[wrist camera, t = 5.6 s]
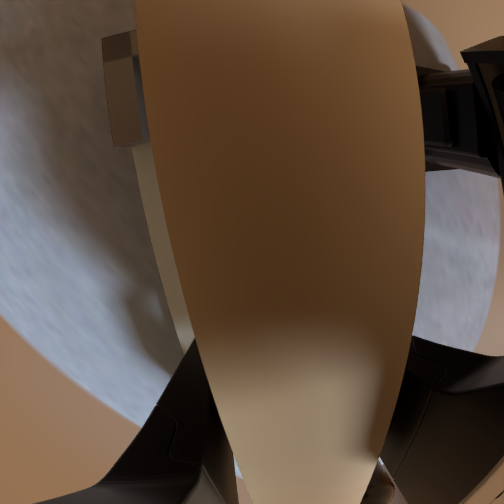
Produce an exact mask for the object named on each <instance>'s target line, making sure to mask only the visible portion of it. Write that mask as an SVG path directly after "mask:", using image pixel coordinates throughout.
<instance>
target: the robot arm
mask: <svg viewBox="0 0 504 504" xmlns="http://www.w3.org/2000/svg"><path fill="white" fill-rule="evenodd" d="M460 53H461V55H462V58H463V60H464V62H465V63H467V65H468V68H469V69H467V70H457V71H448V72H443V71H439V70H434V69H429V68H423V67H418V66H416V72H417V79H418V86H419V93H420V102H421V111H422V122H423V134H424V151H425V172H427V171H439V170H452V169H462V170H467V171H472V172H476V173H480V174H484V175H489V176H493V177H497V178H500V179H501V182H502V188H503V194H504V36H499V37H496V38H494V39H491V40H488V41H486V42H483V43H480V44H478V45H475V46H473V47H470V48H468V49H465V50H463V51H461V52H460ZM380 458H381V460H382V461H383V463H384V465H385V466H386V468H387V469H388V471H389V473H390V475H391V476H392V478H394V481H395V483H396V485H397V486H398V488H399V490H400V491H401V493H402V495H403V496H404V498H405V500H406V501H407V503H408V504H504V356H498V357H497V356H487V355H482V354H478V353H474V352H470V351H465V350H461V349H457V348H453V347H449V346H445V345H441V344H438V343H434V342H431V341H428V340H425V339H422V338H419V337H416V336H412V338H411V343H410V348H409V353H408V357H407V362H406V367H405V371H404V375H403V379H402V383H401V387H400V391H399V395H398V399H397V402H396V406H395V409H394V413H393V416H392V419H391V423H390V426H389V429H388V432H387V435H386V438H385V441H384V444H383V447H382V450H381V453H380ZM34 504H239V502H238V493H237V485H236V476H235V467H234V457H233V451H232V448H231V446H230V443H229V440H228V438H227V435H226V432H225V429H224V426H223V424H222V421H221V418H220V415H219V412H218V409H217V406H216V403H215V400H214V397H213V394H212V391H211V388H210V385H209V382H208V379H207V376H206V372H205V369H204V366H203V363H202V360H201V356H200V353H199V350H198V346H197V343H196V339H195V338H194V340H193V341H192V343H191V345H190V347H189V348H188V350H187V352H186V353H185V355H184V357H183V359H182V360H181V362H180V364H179V366H178V367H177V369H176V371H175V373H174V374H173V376H172V378H171V379H170V381H169V383H168V385H167V386H166V388H165V390H164V392H163V393H162V395H161V397H160V399H159V400H158V402H157V404H156V406H155V407H154V409H153V411H152V412H151V414H150V416H149V417H148V419H147V421H146V422H145V424H144V425H143V427H142V428H141V430H140V431H139V433H138V434H137V435H136V437H135V438H134V440H133V441H132V442H131V444H130V445H129V446H128V448H127V449H126V450H125V452H124V453H123V454H122V455H121V457H120V458H119V459H118V461H117V462H116V463H115V464H114V466H113V467H112V468H111V469H110V471H109V472H108V473H107V474H106V475H105V477H104V478H102V479H101V480H100V481H99V482H98V483H96V484H95V485H93V486H91V487H89V488H87V489H84V490H81V491H77V492H74V493H71V494H67V495H64V496H61V497H57V498H54V499H50V500H46V501H43V502H38V503H34Z"/></svg>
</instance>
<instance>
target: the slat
mask: <svg viewBox="0 0 504 504" xmlns="http://www.w3.org/2000/svg"><path fill="white" fill-rule="evenodd" d="M135 13H136V27H137V39H138V49H139V59H140V69H141V77H142V86H143V93H144V101H145V108H146V115H147V122H148V128H149V135H150V141H151V147H152V153H153V159H154V164H155V170H156V175H157V181H158V186H159V191H160V196H161V201H162V206H163V211H164V216H165V220H166V225H167V230H168V234H169V239H170V243H171V247H172V252H173V256H174V260H175V264H176V268H177V272H178V276H179V280H180V284H181V288H182V292H183V296H184V300H185V303H186V307H187V311H188V315H189V318H190V322H191V325H192V329H193V332H194V336H195V339H196V343H197V346H198V350H199V353H200V356H201V360H202V363H203V366H204V369H205V372H206V376H207V379H208V382H209V385H210V388H211V391H212V394H213V397H214V400H215V403H216V406H217V409H218V412H219V415H220V418H221V421H222V424H223V426H224V429H225V432H226V435H227V438H228V440H229V443H230V446H231V448H232V451H233V454H234V456H235V459H236V462H237V464H238V467H239V469H240V472H241V474H242V477H243V479H244V482H245V484H246V487H247V489H248V492H249V494H250V497H251V499H252V501H253V504H360V502H361V500H362V498H363V496H364V493H365V491H366V489H367V486H368V484H369V481H370V479H371V476H372V474H373V471H374V469H375V466H376V464H377V461H378V458H379V456H380V453H381V450H382V447H383V444H384V441H385V438H386V435H387V432H388V429H389V426H390V423H391V419H392V416H393V413H394V409H395V406H396V402H397V399H398V395H399V391H400V387H401V383H402V379H403V375H404V371H405V367H406V362H407V357H408V353H409V348H410V343H411V338H412V332H413V326H414V321H415V314H416V308H417V301H418V294H419V286H420V277H421V267H422V256H423V243H424V226H425V151H424V134H423V122H422V111H421V102H420V93H419V86H418V79H417V72H416V66H415V60H414V55H413V50H412V44H411V40H410V35H409V30H408V26H407V22H406V18H405V14H404V10H403V6H402V2H401V0H135Z"/></svg>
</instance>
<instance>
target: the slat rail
mask: <svg viewBox="0 0 504 504" xmlns="http://www.w3.org/2000/svg"><path fill="white" fill-rule="evenodd" d="M102 53H103V66H104V76H105V86H106V95H107V103H108V111H109V118H110V125H111V132H112V138H113V144H114V147H122V146H132V152H133V158H134V163H135V169H136V174H137V179H138V184H139V189H140V194H141V199H142V204H143V208H144V213H145V217H146V222H147V226H148V230H149V235H150V239H151V243H152V247H153V251H154V255H155V259H156V263H157V267H158V270H159V274H160V278H161V282H162V285H163V289H164V292H165V296H166V299H167V303H168V306H169V310H170V313H171V316H172V320H173V323H174V326H175V329H176V332H177V336H178V339H179V342H180V345H181V348H182V351H183V354H184V355H185V353H186V352H187V350H188V348H189V347H190V345H191V343H192V341H193V340H194V338H195V336H194V332H193V329H192V325H191V322H190V318H189V315H188V311H187V307H186V303H185V300H184V296H183V292H182V288H181V284H180V280H179V276H178V272H177V268H176V264H175V260H174V256H173V252H172V247H171V243H170V239H169V234H168V230H167V225H166V220H165V216H164V211H163V206H162V201H161V196H160V191H159V186H158V181H157V175H156V170H155V164H154V159H153V153H152V147H151V141H150V135H149V128H148V122H147V115H146V108H145V101H144V93H143V86H142V77H141V69H140V59H139V49H138V39H137V30H133V31H128V32H124V33H120V34H117V35H113V36H109V37H106V38H102Z"/></svg>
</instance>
